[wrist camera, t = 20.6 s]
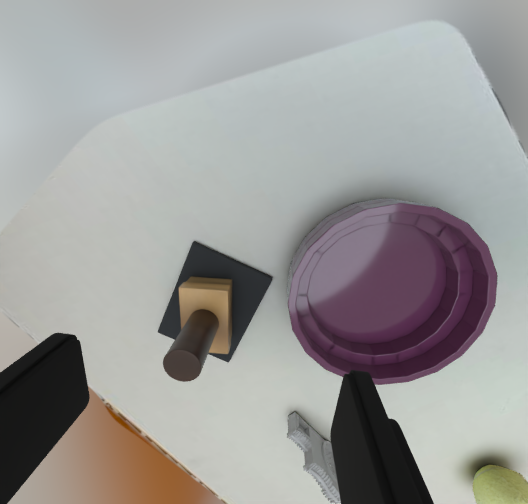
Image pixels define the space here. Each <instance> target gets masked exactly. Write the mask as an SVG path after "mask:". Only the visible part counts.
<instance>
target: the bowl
mask: <svg viewBox="0 0 528 504" xmlns="http://www.w3.org/2000/svg"><path fill="white" fill-rule="evenodd" d="M496 288H497V272H496V269H495V266H494V263H493V260H492V257H491V254H490V251H489V248H488V246H487V245H486V243H485V242H484V241H483V240H482V239H481V238H480V237H479V235H478V234H477V233H476V232H475V231H474V230H473V229H472V227H471V226H470V225H469V224H468V223H466V222H465V221H463V220H461V219H459V218H457V217H455V216H453V215H451V214H449V213H447V212H445V211H443V210H441V209H439V208H436V207H433V206H429V205H425V204H420V203H416V202H411V201H403V200H396V199H388V198H381V199H375V200H370V201H364V202H358V203H353V204H351V205H349V206H347V207H345V208H343V209H341V210H339V211H337V212H335V213H333V214H331V215H330V216H328V217H326V218H324V219H323V220H322V221H321V222H320V223H319V224H318V225H317V226H316V227H315V228H314V229H313V230H312V231H311V232H310V233H309V234H308V235H307V236H306V237H305V238H304V239H303V241H302V243H301V245H300V247H299V248H298V250H297V252H296V254H295V256H294V258H293V260H292V261H291V266H290V272H289V278H288V284H287V297H288V308H289V313H290V319H291V324H292V330H293V332H294V333H295V335H296V337H297V339H298V340H299V342H300V344H301V345H302V347H303V349H304V350H305V352H306V353H307V354H308V355H309V356H310V357H312V358H313V359H314V360H315V361H316V362H317V363H319V364H320V365H321V366H322V367H323V368H324V369H326V370H328V371H330V372H333V373H335V374H337V375H339V376H342V377H344V374H349V372H350V371H351V370H357V371H365V372H369V373H370V375H371V377H372V380H373V382H374V384H377V385H382V384H392V383H402V382H409V381H412V380H415V379H418V378H421V377H424V376H427V375H429V374H432V373H435V372H438V371H439V370H441V369H442V368H444V367H445V366H447V365H448V364H450V363H451V362H453V361H454V360H456V359H457V358H459V357H461V356H462V355H463V354H464V353H465V352H466V351H467V350H468V348H469V347H470V346H471V345H472V344H473V343H474V342H475V340H476V339H477V338H478V337H479V336H480V335H481V334H482V333H483V331H484V329H485V326H486V324H487V322H488V320H489V317H490V315H491V313H492V311H493V309H494V306H495V302H496Z"/></svg>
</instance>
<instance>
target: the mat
mask: <svg viewBox="0 0 528 504" xmlns="http://www.w3.org/2000/svg"><path fill="white" fill-rule="evenodd" d="M190 277H204V278H219V279H232V337H231V346H230V350H229V353H228V354H220V353H208V354H210V355H212V356H215V357H217V358H219V359H222V360H224V361H226V362H229V361H230V359H231V357H232V355H233V353H234V351H235V350H236V348H237V346H238V344H239V342H240V340H241V338H242V336H243V334H244V332H245V330H246V329H247V327H248V325H249V323H250V321H251V319H252V317H253V315H254V313H255V311H256V310H257V308H258V306H259V304H260V302H261V300H262V298H263V296H264V294H265V292H266V290H267V289H268V287H269V285H270V283H271V281H272V278H273V277H271V276H269V275H267V274H264V273H262V272H260V271H258V270H256V269H254V268H251V267H249V266H247V265H245V264H243V263H240V262H238V261H236V260H234V259H232V258H230V257H227V256H225V255H223V254H221V253H219V252H217V251H214V250H212V249H210V248H208V247H206V246H203V245H201V244H199V243H197V242H195V241H194V242H193V243H192V246H191V248H190V251H189V254H188V256H187V259H186V261H185V264H184V266H183V269H182V271H181V274H180V276H179V279H178V282H177V284H176V287H175V289H174V292H173V294H172V297H171V299H170V302H169V304H168V307H167V310H166V312H165V315H164V317H163V320H162V322H161V325H160V327H159V330H158V333H161V334H163V335H165V336H168V337H170V338H172V339H176V338H177V336H178V335H179V333H180V331H181V317H180V302H179V287H180V286H181V284H182V283H183V282H186V281H187V280H188V279H189V278H190Z"/></svg>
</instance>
